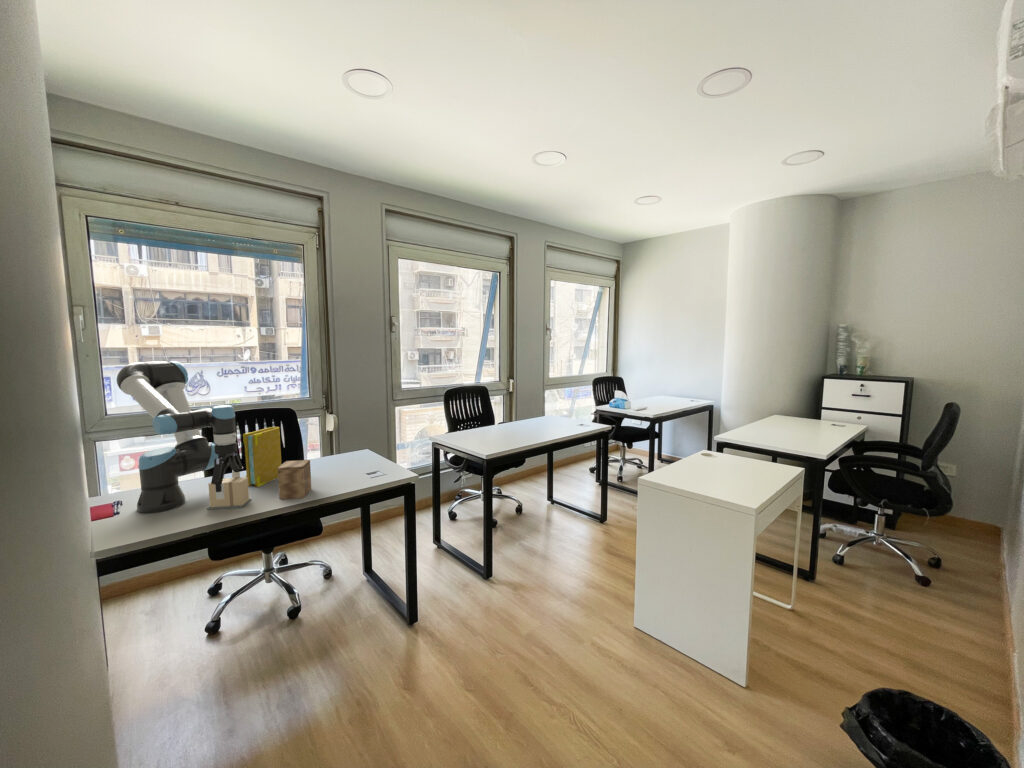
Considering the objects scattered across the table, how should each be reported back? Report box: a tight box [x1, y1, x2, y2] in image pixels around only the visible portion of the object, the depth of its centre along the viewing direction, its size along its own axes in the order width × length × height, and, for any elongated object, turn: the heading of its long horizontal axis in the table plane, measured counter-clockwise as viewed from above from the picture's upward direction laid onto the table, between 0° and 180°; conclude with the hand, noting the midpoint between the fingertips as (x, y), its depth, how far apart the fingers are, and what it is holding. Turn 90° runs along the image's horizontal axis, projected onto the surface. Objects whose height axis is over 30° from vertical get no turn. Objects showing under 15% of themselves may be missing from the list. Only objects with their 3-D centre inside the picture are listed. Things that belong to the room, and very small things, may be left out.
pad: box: [206, 498, 252, 511], centre depth 168 cm, size 13×8×1 cm, turn 101°
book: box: [242, 426, 282, 488], centre depth 196 cm, size 17×7×25 cm, turn 168°
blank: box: [208, 476, 250, 507], centre depth 168 cm, size 12×6×10 cm, turn 101°
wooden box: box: [277, 459, 312, 500], centre depth 180 cm, size 10×10×14 cm
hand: (229, 492), depth 168 cm, fingers open, 13 cm apart
